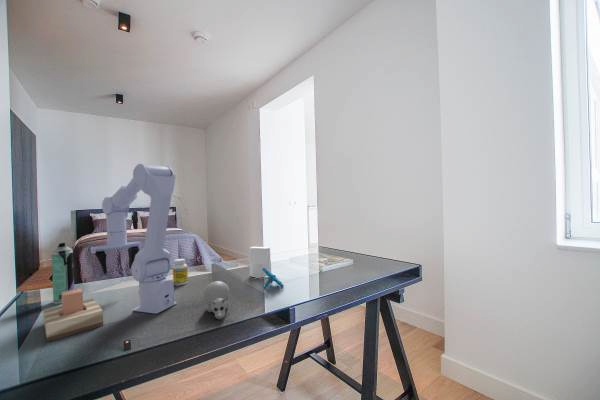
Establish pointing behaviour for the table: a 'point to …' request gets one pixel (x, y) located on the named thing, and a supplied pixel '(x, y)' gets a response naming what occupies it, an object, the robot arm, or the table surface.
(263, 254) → the white rectangular block
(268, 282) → the teal crossed bar figure
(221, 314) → the grey skull
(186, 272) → the supplement bottle
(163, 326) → the table surface
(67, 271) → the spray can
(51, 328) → the socket block
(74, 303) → the peg
